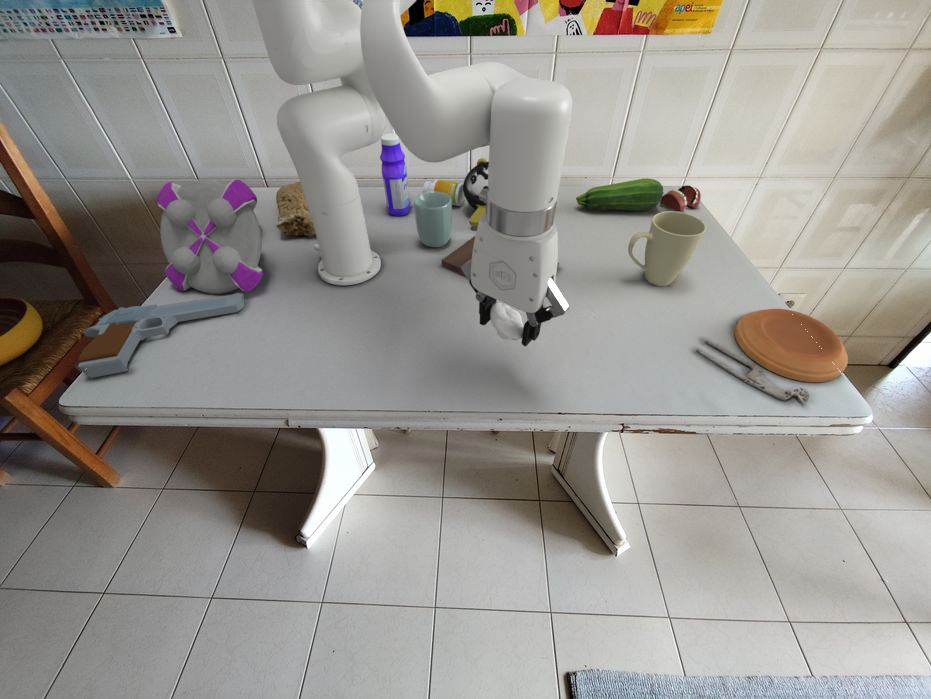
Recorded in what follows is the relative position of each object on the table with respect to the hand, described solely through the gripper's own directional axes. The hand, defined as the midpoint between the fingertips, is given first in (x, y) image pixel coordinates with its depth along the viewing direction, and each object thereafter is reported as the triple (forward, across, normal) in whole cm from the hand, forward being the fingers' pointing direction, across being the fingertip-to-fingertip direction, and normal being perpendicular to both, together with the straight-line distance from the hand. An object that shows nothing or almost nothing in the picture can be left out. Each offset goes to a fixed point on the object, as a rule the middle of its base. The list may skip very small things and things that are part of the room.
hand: (507, 328), depth 60 cm
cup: (+10, -33, +24) cm, 42 cm away
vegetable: (+10, -7, +61) cm, 63 cm away
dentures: (+7, +4, +68) cm, 68 cm away
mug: (+9, +11, +38) cm, 41 cm away
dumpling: (+1, 0, 0) cm, 1 cm away
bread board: (+10, -16, +24) cm, 30 cm away
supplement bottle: (+8, -39, +42) cm, 57 cm away
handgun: (+9, -45, -31) cm, 56 cm away
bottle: (+11, -50, +30) cm, 60 cm away
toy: (0, -58, -13) cm, 59 cm away
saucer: (+6, +35, +32) cm, 48 cm away
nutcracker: (+9, +30, +20) cm, 37 cm away
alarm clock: (+10, -31, +42) cm, 53 cm away
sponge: (+11, -66, +14) cm, 69 cm away
